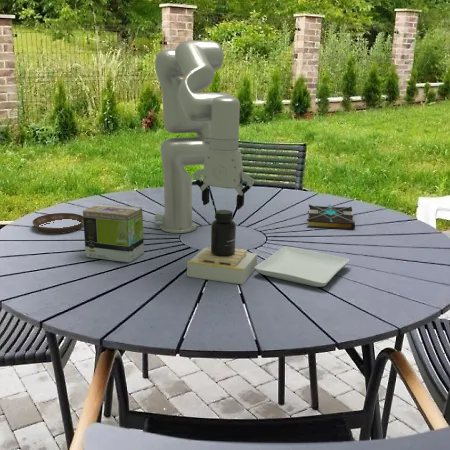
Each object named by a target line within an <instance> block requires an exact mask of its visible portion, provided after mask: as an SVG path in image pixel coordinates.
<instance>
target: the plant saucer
mask: <svg viewBox="0 0 450 450" xmlns="http://www.w3.org/2000/svg"><path fill="white" fill-rule="evenodd" d="M62 219H72V220H77V221H79V222H81V223H80V224H78V225H74V226H70V227H63V228H45V227H39V225H41V224H44V223H46V224H50V223H47V222H51V221H55V220H62ZM53 223H54V222H53ZM32 224H33V226H34V227H35V228H36V230H38V231H39V232H41V233H44V232H45V233H44V234H50V233H60V234H63V233H62V232H68V231H72V232H74V231H73V230H75V231H77V230H79V229H80V228H81V227H83V226H84V222H83V215H82V214H79V213H74V212H73V213H72V212H57V213H47V214H43V215H40V216H38V217H35V218H34V219H33V220H32ZM46 224H44V225H46ZM41 226H43V225H41ZM78 228H79V229H78ZM76 229H77V230H76ZM68 233H69V232H68Z"/></svg>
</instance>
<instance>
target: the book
mask: <svg viewBox="0 0 450 450" xmlns="http://www.w3.org/2000/svg"><path fill="white" fill-rule="evenodd" d="M308 207H309V209H308V210H307V213H308V218H306V222H307V223H308V225H306V228H307V229H308V228H319V229H322V228H323V229H334V230H335V229H336V230H337V229H338V230H344V231H345V230H348V231H353V230H356V221H354V220H353V219H354V213H353V206H351V205H350V206H332V205H331V204H328V206H322V205H321V206H320V205H312V204H311V203H310V204H308Z"/></svg>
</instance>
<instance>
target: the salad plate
mask: <svg viewBox="0 0 450 450" xmlns="http://www.w3.org/2000/svg"><path fill="white" fill-rule="evenodd" d="M349 263H350V259H349V258H347V257H343V256H338V255H333V254H328V253H323V252H318V251H314V250H309V249H303V248H298V247H293V246H287V245H285V246H282V247H281V248H280V249H278V250H277V251H275V252H274V253H272V254H271V255H270V256H268V257H267V258H265V259H264V260H262V261H261V262H260V263H257V265H256V266H255V267H254V268H255V270H254V271H256V272H257V273H259V274H260V275H264V276H267V277H270V278H274V279H279V280H284V281H288V282H292V283H297V284H301V285H306V286H311V287H317V288H319V287H320V288H321V287H325V286H326V285H327V284H328V283H329V282H330V281H331V280H332V278H334V277H335V275H336V274H337V273H339V271H340V272H341V270H342V269H343V268H345V267H346V266H347V265H348V264H349Z"/></svg>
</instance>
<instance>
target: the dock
mask: <svg viewBox="0 0 450 450" xmlns="http://www.w3.org/2000/svg"><path fill="white" fill-rule="evenodd" d="M186 265H187V266H186V270H187V271H186V272H187V273H186V275H187V276H186V277H189V278H195V279H203V280H207V281H208V280H210V281H216V282H224V283H228V284H229V283H231V284H236V285H237V284H238V285H244V283H245V282H246V281H247V279H248V278H249V277H250V276H251V275H252V274H253V272H254V271H256V270H255V268H254V267H255V266H256V265H258V253H256V252H255V253H254V252H248V250H247V249H243V248H242V249H241V248H235V253H234V254H233V255H231V256H225V257H222V256H216V255H213V254H212V253H211V245H210V246H209V247H208V246H207V247H204V248H202V249H201V250H200V251H199V252H198V253H197V254H196V255H195V256H193V257H191V259H189V260H187V261H186Z"/></svg>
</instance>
